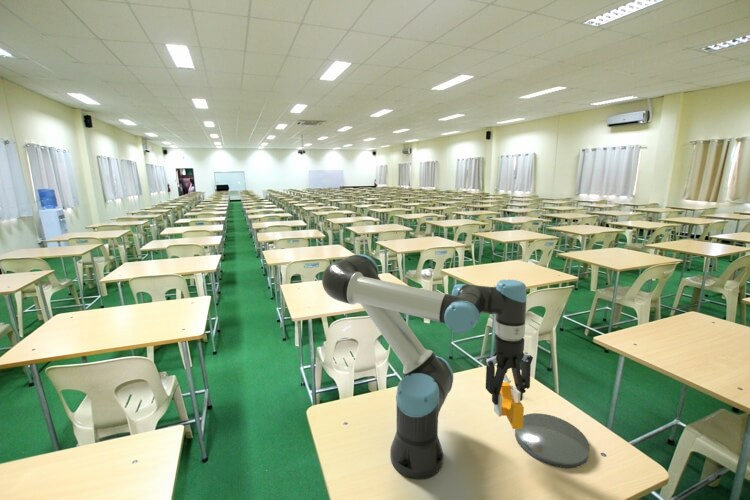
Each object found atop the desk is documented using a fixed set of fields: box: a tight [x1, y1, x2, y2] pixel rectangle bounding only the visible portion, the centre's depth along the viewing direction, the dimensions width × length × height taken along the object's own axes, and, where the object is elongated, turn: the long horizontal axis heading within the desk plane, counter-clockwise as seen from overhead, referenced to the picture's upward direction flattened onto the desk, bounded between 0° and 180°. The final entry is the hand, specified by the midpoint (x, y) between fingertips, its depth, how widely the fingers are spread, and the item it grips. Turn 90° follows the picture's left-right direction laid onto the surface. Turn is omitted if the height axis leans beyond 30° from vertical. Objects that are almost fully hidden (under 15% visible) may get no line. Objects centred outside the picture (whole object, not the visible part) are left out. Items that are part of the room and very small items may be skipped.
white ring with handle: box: [503, 373, 514, 395], centre depth 132 cm, size 8×12×7 cm
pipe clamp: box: [500, 381, 525, 430], centre depth 97 cm, size 12×4×6 cm, turn 177°
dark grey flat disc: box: [514, 412, 590, 469], centre depth 104 cm, size 20×20×2 cm
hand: (506, 411), depth 98 cm, fingers closed on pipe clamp, 5 cm apart
